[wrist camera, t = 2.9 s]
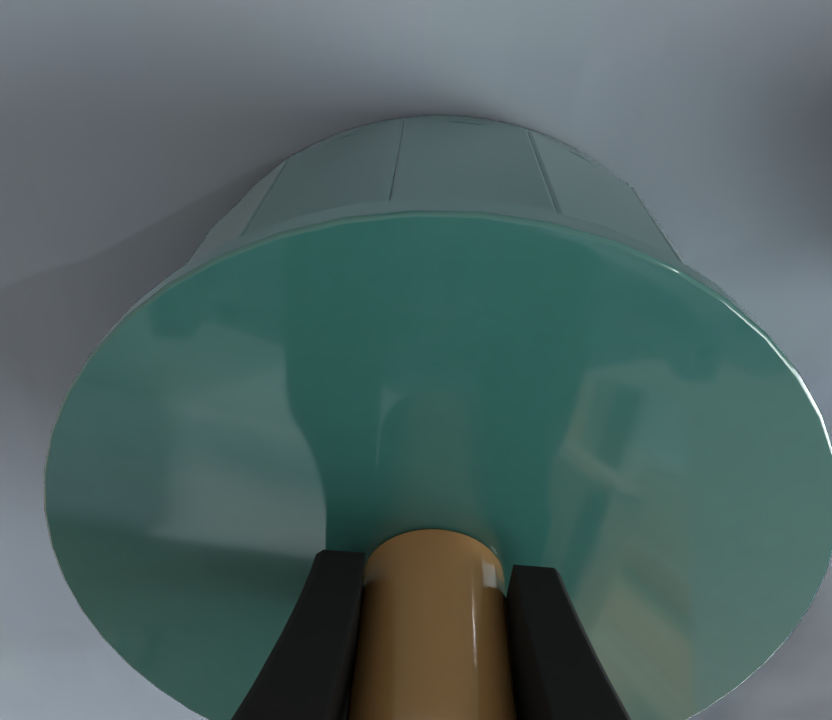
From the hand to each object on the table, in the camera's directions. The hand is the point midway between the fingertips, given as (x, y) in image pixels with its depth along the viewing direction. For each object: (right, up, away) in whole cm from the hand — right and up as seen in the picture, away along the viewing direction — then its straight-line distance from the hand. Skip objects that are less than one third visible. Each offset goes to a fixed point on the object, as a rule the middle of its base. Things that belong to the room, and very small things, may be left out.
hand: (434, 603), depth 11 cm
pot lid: (0, +1, +1) cm, 1 cm away
